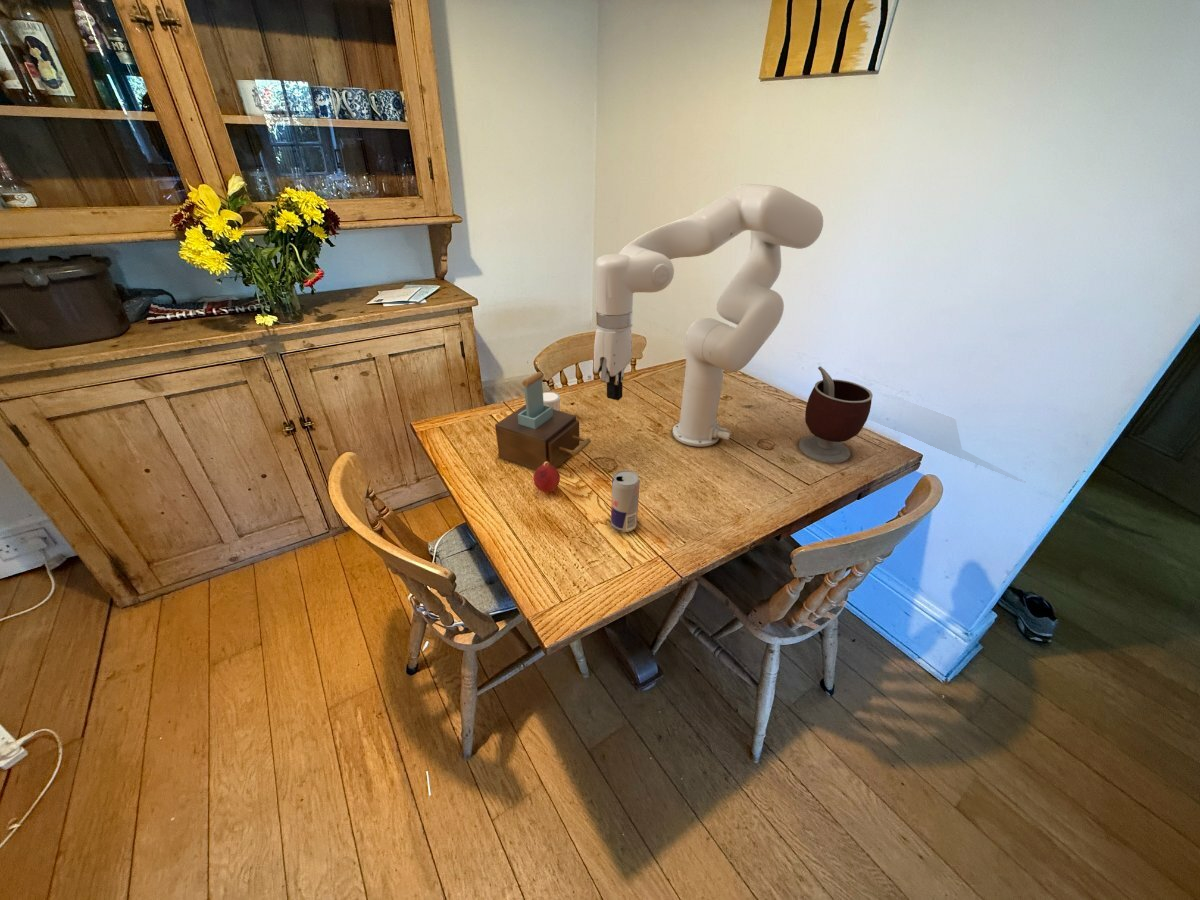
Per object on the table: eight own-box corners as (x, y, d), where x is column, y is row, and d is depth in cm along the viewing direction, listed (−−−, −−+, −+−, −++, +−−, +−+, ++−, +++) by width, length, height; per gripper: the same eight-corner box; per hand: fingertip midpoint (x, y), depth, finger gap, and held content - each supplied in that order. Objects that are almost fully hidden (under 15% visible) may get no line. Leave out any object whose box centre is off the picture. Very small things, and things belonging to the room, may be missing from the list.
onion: (549, 502, 101) (547, 473, 96) (529, 494, 103) (526, 464, 99) (565, 489, 105) (564, 460, 101) (545, 480, 107) (543, 452, 103)
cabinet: (577, 448, 120) (576, 415, 114) (547, 474, 110) (545, 440, 104) (531, 433, 126) (528, 402, 120) (499, 457, 115) (494, 424, 110)
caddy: (553, 416, 114) (550, 372, 108) (535, 429, 109) (531, 384, 102) (536, 411, 116) (533, 368, 110) (518, 424, 111) (513, 379, 104)
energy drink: (609, 516, 97) (610, 470, 91) (634, 515, 98) (637, 468, 91) (612, 533, 93) (613, 486, 86) (638, 532, 93) (642, 485, 87)
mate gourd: (865, 458, 117) (893, 386, 106) (823, 469, 112) (848, 395, 101) (819, 429, 129) (840, 362, 118) (780, 439, 124) (798, 370, 113)
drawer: (596, 452, 116) (596, 425, 112) (570, 477, 107) (569, 449, 103) (536, 434, 124) (534, 408, 119) (507, 456, 115) (504, 429, 110)
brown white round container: (557, 425, 130) (556, 403, 126) (534, 422, 131) (532, 400, 127) (563, 414, 135) (563, 392, 131) (541, 411, 136) (540, 390, 133)
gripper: (614, 307, 103) (615, 382, 113) (580, 327, 92) (584, 408, 102) (645, 311, 100) (643, 388, 110) (613, 332, 89) (614, 415, 99)
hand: (614, 397), depth 106 cm, fingers closed
